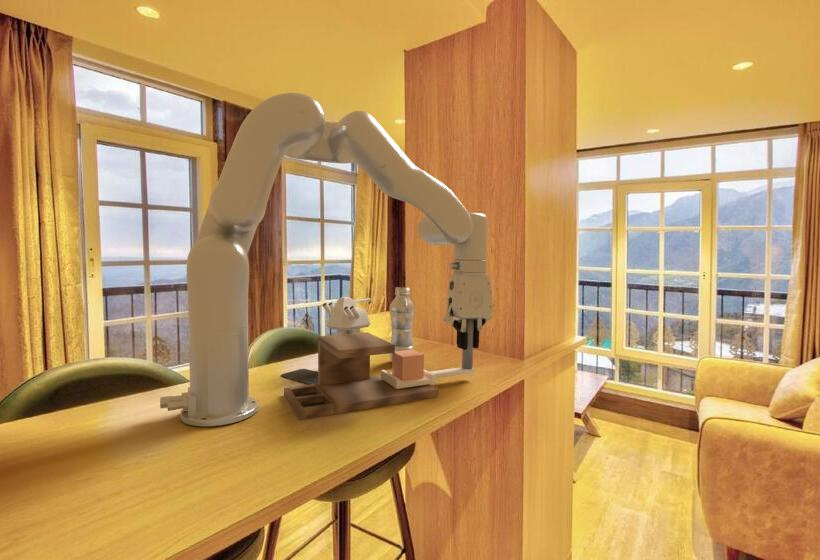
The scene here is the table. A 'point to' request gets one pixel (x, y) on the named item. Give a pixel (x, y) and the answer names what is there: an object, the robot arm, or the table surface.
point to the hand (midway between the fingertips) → (467, 347)
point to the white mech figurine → (347, 315)
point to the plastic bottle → (402, 320)
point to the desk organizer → (350, 379)
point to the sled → (430, 376)
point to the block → (408, 365)
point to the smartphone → (302, 376)
